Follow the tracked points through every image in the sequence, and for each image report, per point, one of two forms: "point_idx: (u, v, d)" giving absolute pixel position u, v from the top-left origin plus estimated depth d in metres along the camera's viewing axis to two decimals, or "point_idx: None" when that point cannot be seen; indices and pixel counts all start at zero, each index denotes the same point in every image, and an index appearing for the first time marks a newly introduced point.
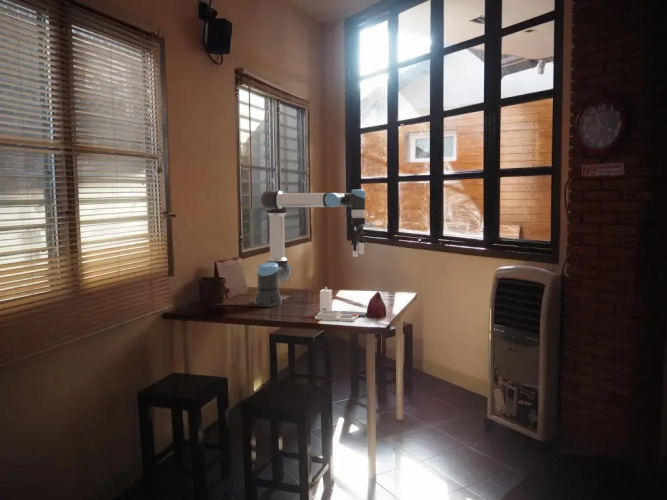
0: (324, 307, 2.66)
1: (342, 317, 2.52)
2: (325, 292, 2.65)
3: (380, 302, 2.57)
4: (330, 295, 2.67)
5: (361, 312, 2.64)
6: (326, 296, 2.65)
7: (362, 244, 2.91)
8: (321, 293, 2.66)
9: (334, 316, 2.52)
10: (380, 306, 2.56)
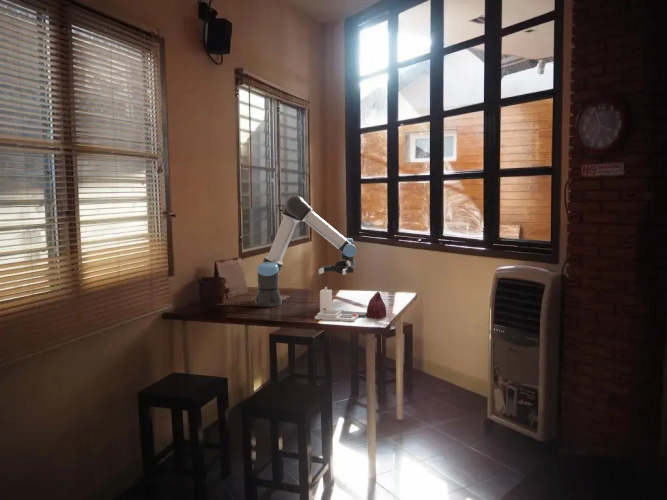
0: (324, 307, 2.66)
1: (342, 317, 2.52)
2: (325, 292, 2.65)
3: (380, 302, 2.57)
4: (330, 295, 2.67)
5: (361, 312, 2.64)
6: (326, 296, 2.65)
7: (323, 271, 2.83)
8: (321, 293, 2.66)
9: (334, 316, 2.52)
10: (380, 306, 2.56)
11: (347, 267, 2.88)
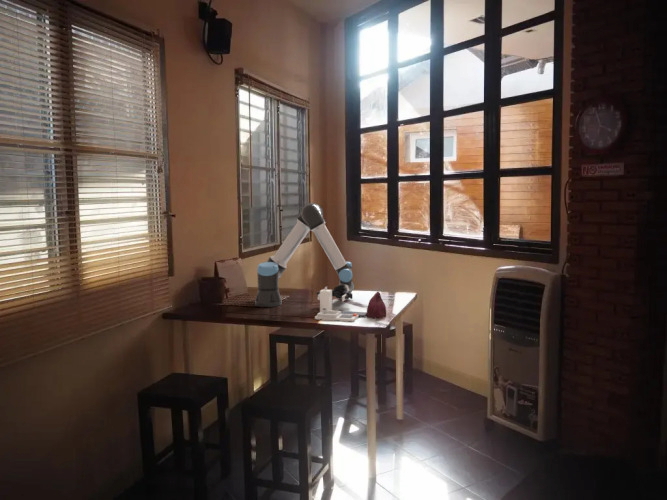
0: (324, 307, 2.66)
1: (342, 317, 2.52)
2: (325, 292, 2.65)
3: (380, 302, 2.57)
4: (330, 295, 2.67)
5: (361, 312, 2.64)
6: (326, 296, 2.65)
7: None
8: (321, 293, 2.66)
9: (334, 316, 2.52)
10: (380, 306, 2.56)
11: (346, 292, 2.86)
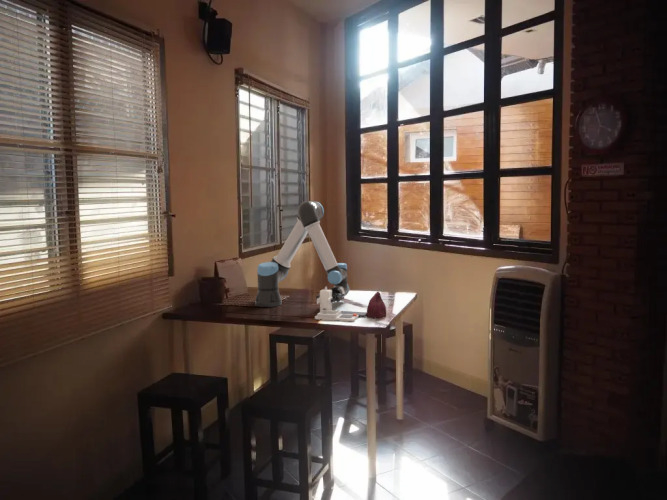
0: (324, 307, 2.66)
1: (342, 317, 2.52)
2: (325, 292, 2.65)
3: (380, 302, 2.57)
4: (330, 295, 2.67)
5: (361, 312, 2.64)
6: (326, 296, 2.65)
7: None
8: (321, 293, 2.66)
9: (334, 316, 2.52)
10: (380, 306, 2.56)
11: (340, 295, 2.77)
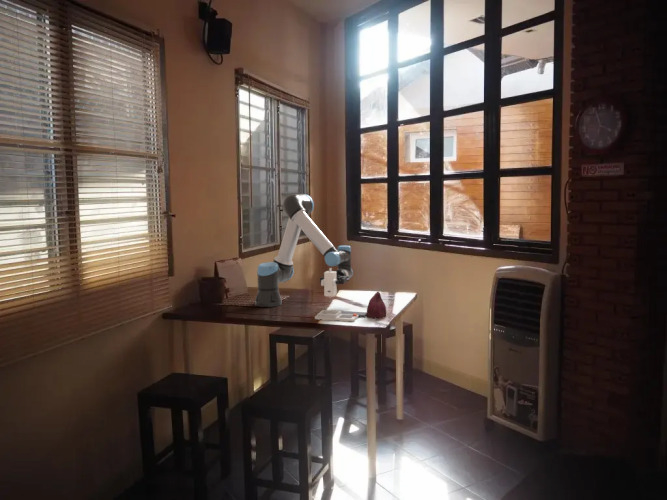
0: (329, 289, 2.55)
1: (342, 317, 2.52)
2: (330, 273, 2.54)
3: (380, 302, 2.57)
4: (335, 277, 2.56)
5: (361, 312, 2.64)
6: (331, 278, 2.54)
7: None
8: (325, 275, 2.55)
9: (334, 316, 2.52)
10: (380, 306, 2.56)
11: (344, 277, 2.67)
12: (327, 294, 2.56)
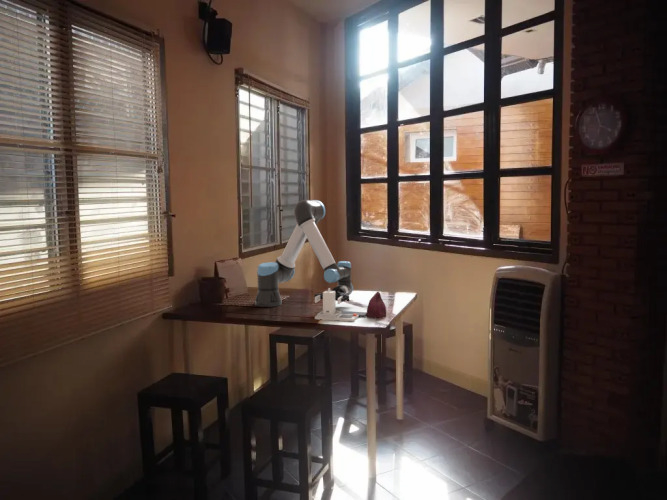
0: (327, 309, 2.55)
1: (342, 317, 2.52)
2: (328, 294, 2.54)
3: (380, 302, 2.57)
4: (333, 297, 2.56)
5: (361, 312, 2.64)
6: (329, 298, 2.54)
7: (319, 299, 2.60)
8: (324, 295, 2.54)
9: (334, 316, 2.52)
10: (380, 306, 2.56)
11: (344, 294, 2.67)
12: None
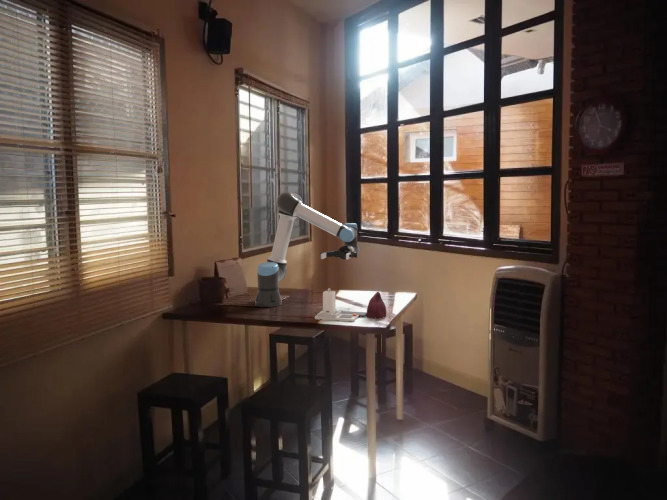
0: (327, 309, 2.55)
1: (342, 317, 2.52)
2: (328, 294, 2.54)
3: (380, 302, 2.57)
4: (333, 297, 2.56)
5: (361, 312, 2.64)
6: (329, 298, 2.54)
7: (325, 256, 2.71)
8: (324, 295, 2.54)
9: (334, 316, 2.52)
10: (380, 306, 2.56)
11: (350, 252, 2.77)
12: None
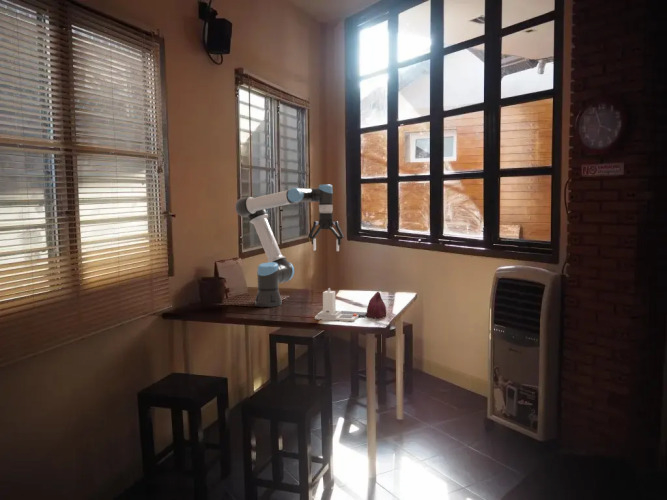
0: (327, 309, 2.55)
1: (342, 317, 2.52)
2: (328, 294, 2.54)
3: (380, 302, 2.57)
4: (333, 297, 2.56)
5: (361, 312, 2.64)
6: (329, 298, 2.54)
7: None
8: (324, 295, 2.54)
9: (334, 316, 2.52)
10: (380, 306, 2.56)
11: None
12: None
